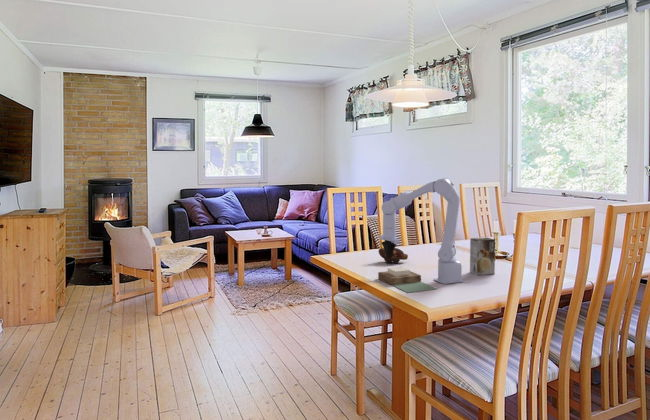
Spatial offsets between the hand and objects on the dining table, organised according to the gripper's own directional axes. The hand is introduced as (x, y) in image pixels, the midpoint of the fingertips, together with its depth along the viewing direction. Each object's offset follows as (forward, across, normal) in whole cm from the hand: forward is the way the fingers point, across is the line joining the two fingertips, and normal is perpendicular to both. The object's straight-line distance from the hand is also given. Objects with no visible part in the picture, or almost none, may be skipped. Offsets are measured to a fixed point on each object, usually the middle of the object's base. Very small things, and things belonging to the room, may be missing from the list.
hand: (388, 257), depth 209 cm
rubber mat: (+8, +21, 0) cm, 23 cm away
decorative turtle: (+9, -24, +16) cm, 30 cm away
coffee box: (+8, +12, +42) cm, 44 cm away
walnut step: (+8, +9, 0) cm, 12 cm away
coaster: (+5, +8, 0) cm, 10 cm away
